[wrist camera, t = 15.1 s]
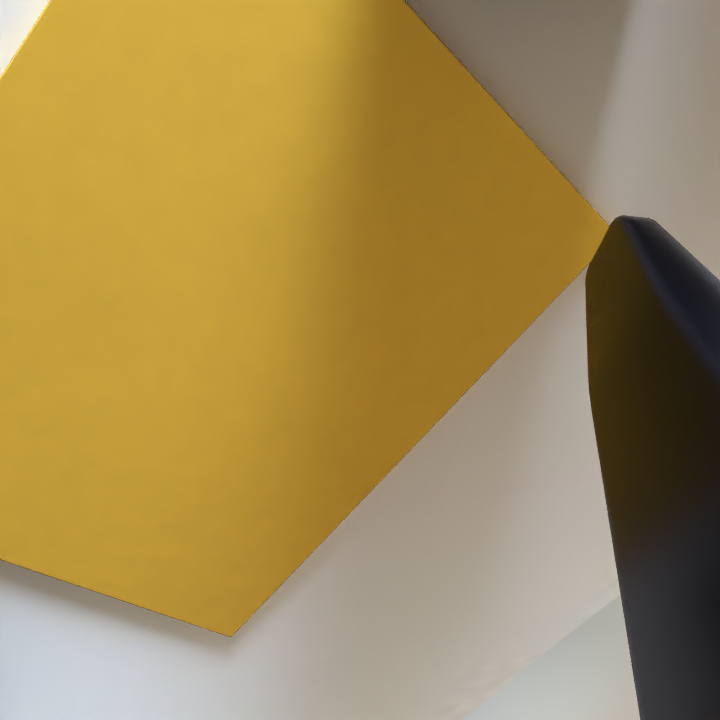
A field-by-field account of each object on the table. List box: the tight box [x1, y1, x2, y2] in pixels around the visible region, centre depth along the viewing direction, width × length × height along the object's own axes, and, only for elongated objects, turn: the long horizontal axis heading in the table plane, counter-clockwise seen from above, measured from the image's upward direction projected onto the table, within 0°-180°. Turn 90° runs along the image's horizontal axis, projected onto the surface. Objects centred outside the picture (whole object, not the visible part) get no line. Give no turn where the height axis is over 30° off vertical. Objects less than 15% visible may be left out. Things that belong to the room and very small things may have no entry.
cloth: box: [0, 0, 609, 637], centre depth 19 cm, size 19×15×1 cm
